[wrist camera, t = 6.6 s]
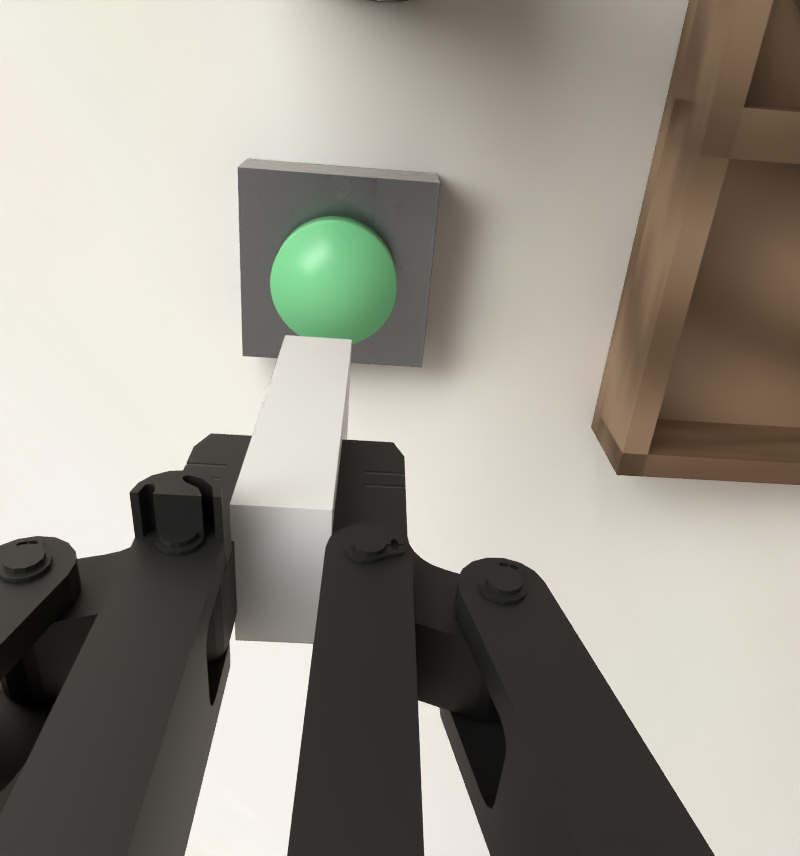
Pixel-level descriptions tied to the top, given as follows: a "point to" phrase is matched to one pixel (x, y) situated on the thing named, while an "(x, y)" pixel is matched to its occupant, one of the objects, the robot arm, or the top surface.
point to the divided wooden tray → (716, 264)
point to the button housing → (347, 197)
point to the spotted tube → (389, 0)
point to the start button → (334, 280)
